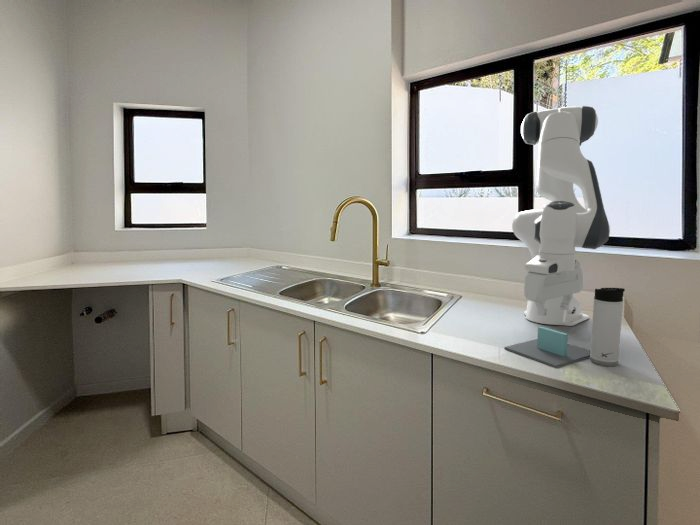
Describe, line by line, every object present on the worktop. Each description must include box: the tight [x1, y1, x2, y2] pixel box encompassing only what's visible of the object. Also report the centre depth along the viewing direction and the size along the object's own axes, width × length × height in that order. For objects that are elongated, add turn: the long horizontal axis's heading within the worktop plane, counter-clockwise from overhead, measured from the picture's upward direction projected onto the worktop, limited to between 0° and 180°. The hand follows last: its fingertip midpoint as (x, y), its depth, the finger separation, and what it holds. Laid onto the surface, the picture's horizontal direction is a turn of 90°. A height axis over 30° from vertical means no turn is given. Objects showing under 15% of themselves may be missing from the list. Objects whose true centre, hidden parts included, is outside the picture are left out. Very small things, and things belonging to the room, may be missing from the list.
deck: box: [537, 326, 569, 356], centre depth 113 cm, size 1×8×6 cm, turn 29°
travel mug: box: [589, 287, 626, 367], centre depth 106 cm, size 6×7×20 cm
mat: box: [504, 338, 591, 369], centre depth 115 cm, size 18×16×1 cm
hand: (553, 312), depth 113 cm, fingers open, 8 cm apart
